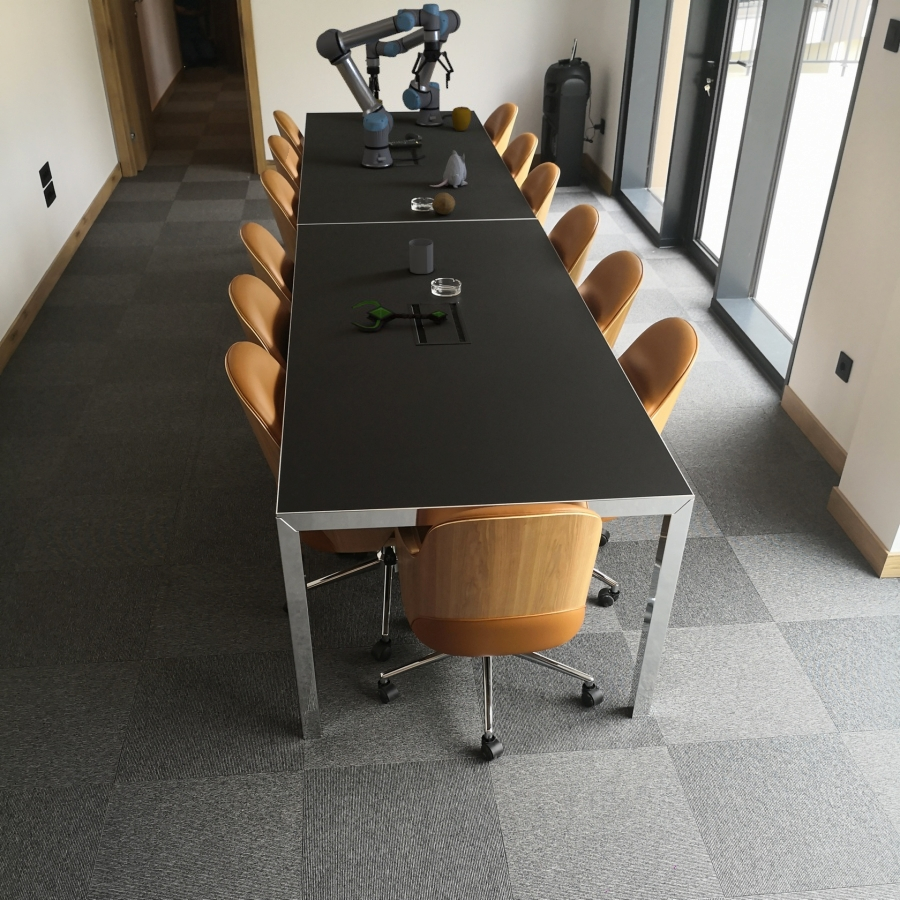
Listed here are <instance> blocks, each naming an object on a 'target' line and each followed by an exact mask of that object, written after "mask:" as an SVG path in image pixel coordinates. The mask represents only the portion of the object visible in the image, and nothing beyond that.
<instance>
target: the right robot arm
mask: <svg viewBox="0 0 900 900" xmlns="http://www.w3.org/2000/svg"><path fill="white" fill-rule="evenodd" d="M439 15H440V16H439V21H440V40H439V42H440V51H441V50H442V47H443V45H444V44H446V43H447V42H448V38H449V36H450V34H454V33H456V32H457V31H458V30H459V29H460V26H461V23H462V20H461V16H460V14H459V13H458V12H457V11H456V10H455V9H452V8H449V9H448V8H447V9H442V10H439ZM424 41H425V40H424V27H419V28H418V29H416V30H414V31H412V32H410V33H407V34H406V35H404V36H402V37H400V38H397V39H393V40H388V41H381V40H380V39H379V40H376V41H373V42H370V43H367V44H364V46H365V63H366V74H367V75H370V76H369V77H368V87H369V88H370V90H371V92H372V94H373V95H374V97H375V99H380V95H379V94H380V92H381V89H380V82H379V75H380V74H381V66H380V65H381V64H380V63H381V60H380V57H385V58H396V57H397V56H398V55H402V54H406V53H408V52H410V50H413V49H414V48H416V47H418V46H421V45H424ZM422 53H424V50H422ZM424 59H425V57H424V55H423V56H422V57H421V58H420V61H419V63H418V65H417V69H418V68H419V67H420V65H421V64H422V63H423V61H424ZM436 65H437V62H430V63H429V62H427V63H426V64H425V66H424V67H423V68H422V70H421V71H420V72H419V75H420V90H418V82H416V79H415V77H414V79H412V80H410V82H409V84H408V87H407V88H406V89H405V90H404V91H403V92H402V95H401V99H402V102H403V105H404V107H405V108H407V110H410V111H418V110H419V111H418V115H417V119H416V125H417V126H419V127H426V128H429V127H432V128H433V127H434V128H435V127H440V126H442V125H444V120H443V119H444V118H445V117H452V113H450V114H444V115H441V114H442V113H441V110H440V109H441V108H440V107H441V106H440V105H441V104H440V103H441V101H440V100H441V98H440V96H441V94H440V93H441V92H440V91H441V89H440V88H441V87H440V83H438V82H436V81H431V80H432V78H433V74H434V71H435V68H436Z"/></svg>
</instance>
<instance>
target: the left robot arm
mask: <svg viewBox="0 0 900 900" xmlns="http://www.w3.org/2000/svg"><path fill="white" fill-rule="evenodd" d="M439 11H440V7H439V4H437V3H424V4H423V5H422V8H400V9H398V10H397V14H395V15H392V16H389V17H386V18H383V19H379V20H377V21H373V22H370V23H366V24H364V25H361V26H358V27H355V28H352V29H348V30H346V31H341V30H340V29H338V28H328V29H326V30H325V31H323V32H322V33H320V34H319V35H318V37H317V39H316V42H315V47H316V48H315V49H316V51H317V53H318V54H319V56H321V58H323V59H325V60H328V62H329V64H330V65H331V66H333V67H336V69H337V71H338V73H339V74H340V76H341V78H342V80H343V81H344V83H345V84H346V86H347V88H348V90H349V91H350V93H351V95H352V96H353V98H354V100H355V101H356V103H357V105H358V106H359V108H360V110H361V111H362V115H361V116H362V119H363V122H362V125H363V138H364V139H363V140H364V151H363V155H362V159H361V166H362V167H363V168H366V169H371V170H381V169H387V168H390V167H392V166H394V161H416V160H421V159H422V158H424V157H425V156H426V155H425V154H422V155H421V156H418V157H414V158H413V157H412V158H392V155H391V152H390V151H391V150H390V147H389V145H390V144H389V134H390V133H391V132H392V130H393V129H394V118H393V116H392V114H391V113H390V112H389V111H388V110H386V108H385V106H384V105H382V103H378V102H377V100H376V99H375V97H374V95H373V94H372V92H371V90H370V88H369V84H368V83H367V82H366V80H365V78H364V77H363V74H362V73H361V72H360V70H359V68H358V66H357V64H356V62H355V61H354V59H353V58H352V52H353V51H352V50H351V49H354V48H359V47H361V46H363V45H364V46H365V45H366V44H367V43H370V42H373V41H376V40H379V41H380V40H382V39H385V38H389V37H392V36H395V35H398V34H401V33H404V32H405V33H407V32H410V31H412V30H413V29H414V28H422V27H424V40H425V41H424V43H423V51H424V53H423V52H421V51H418V52H417V57H416V60H415V62H414V65H412V69H411V74H412V75H414V78H415V79H416V82H418V90H420V75H419V72H420V71H421V70H422V68H423V67H424V66H425V64H426V63H427V62H429V63H430V62H436V63H437V62H438V63H439V65H440V66H441V67H442V68H443V69H444V70H445V72H446V73H445V89H446V90H448V89H449V82H450V81H451V74H452V73H454V72H455V70H454V68H453V65H452V64H451V61H450V59H449V57H448V52H447V51H446V50H444V51H441V50H440V42H439V40H440V21H439V16H440V15H439ZM423 55H424V57H425V59H424V61H423V63H422V64H421V65H420V67H419V68H418V66H419V63H420V60H421V57H422V56H423ZM440 57H443V58H444V59H445V61H446V64H447V66H448V67H447V66H446V65H445V64H444V62H443V61H442V59H440ZM448 68H449V69H448Z"/></svg>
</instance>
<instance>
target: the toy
mask: <svg viewBox="0 0 900 900" xmlns="http://www.w3.org/2000/svg"><path fill="white" fill-rule="evenodd" d="M466 178H467V168H466V156H465V153H463V154H462V155H459V154H458V153H457V151H456V150H455V149H453V150H452V153H451V155H450V156H449V158H448V161H447V163H446V166H445V170H444V171H443V177H442V179H443V181H442V182H441V183H439V184H436V185H435V184H433V185H432V184H430V185H428V186H429V187H434V188H440V187H443V186H446V187H448V186H449V185H451V186H453V188H455V189H459V187H458V186H461V187H462V186H467V185H468V182H467V181H465V180H466Z"/></svg>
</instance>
